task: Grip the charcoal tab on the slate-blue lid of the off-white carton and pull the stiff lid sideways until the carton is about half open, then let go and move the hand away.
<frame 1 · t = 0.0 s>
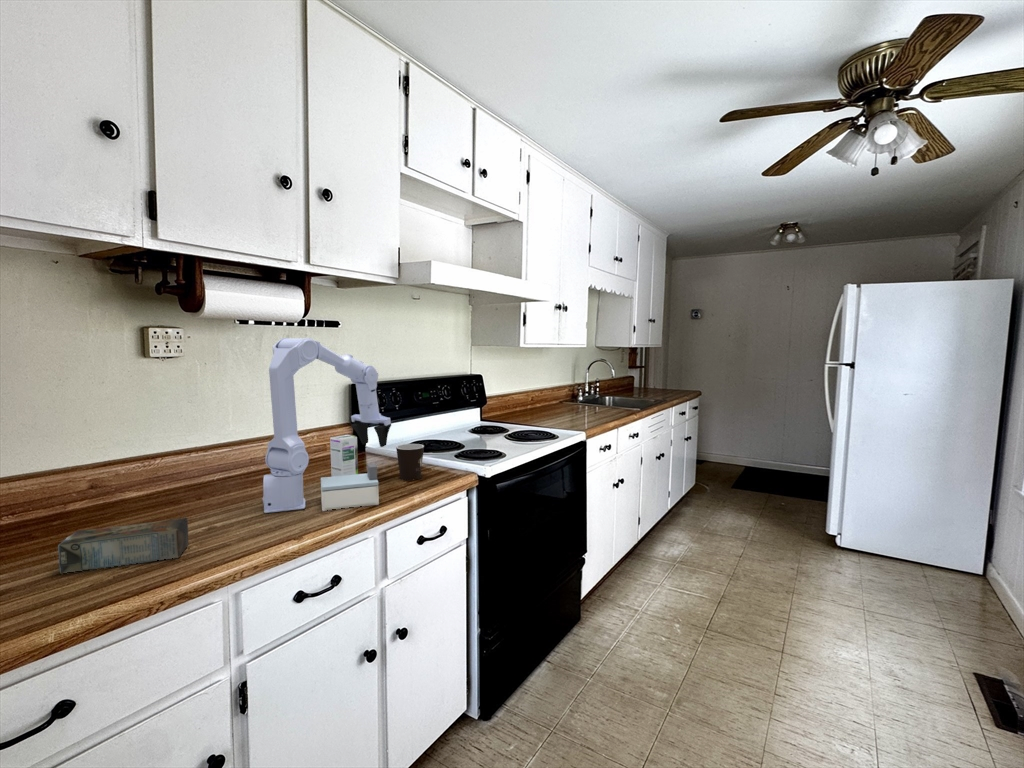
hand: (374, 444, 155), 11 cm above the countertop, tool pointing down, fingers open, 7 cm apart
syrup box: (344, 483, 149), on the countertop
beverage carton: (129, 560, 97), on the countertop
coffee mug: (413, 477, 157), on the countertop
carton lid: (349, 474, 131), point 7 cm above the countertop, slide at 0.0 cm
carton: (349, 501, 132), on the countertop
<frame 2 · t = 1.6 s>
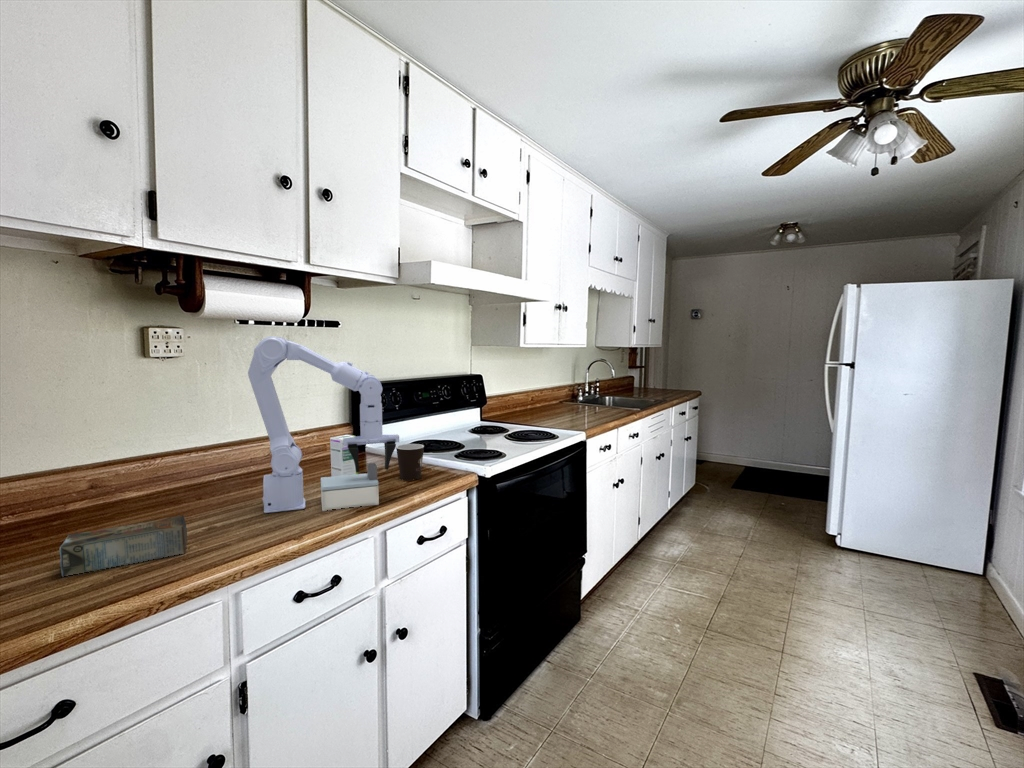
hand: (372, 470, 133), 8 cm above the countertop, tool pointing down, fingers open, 7 cm apart
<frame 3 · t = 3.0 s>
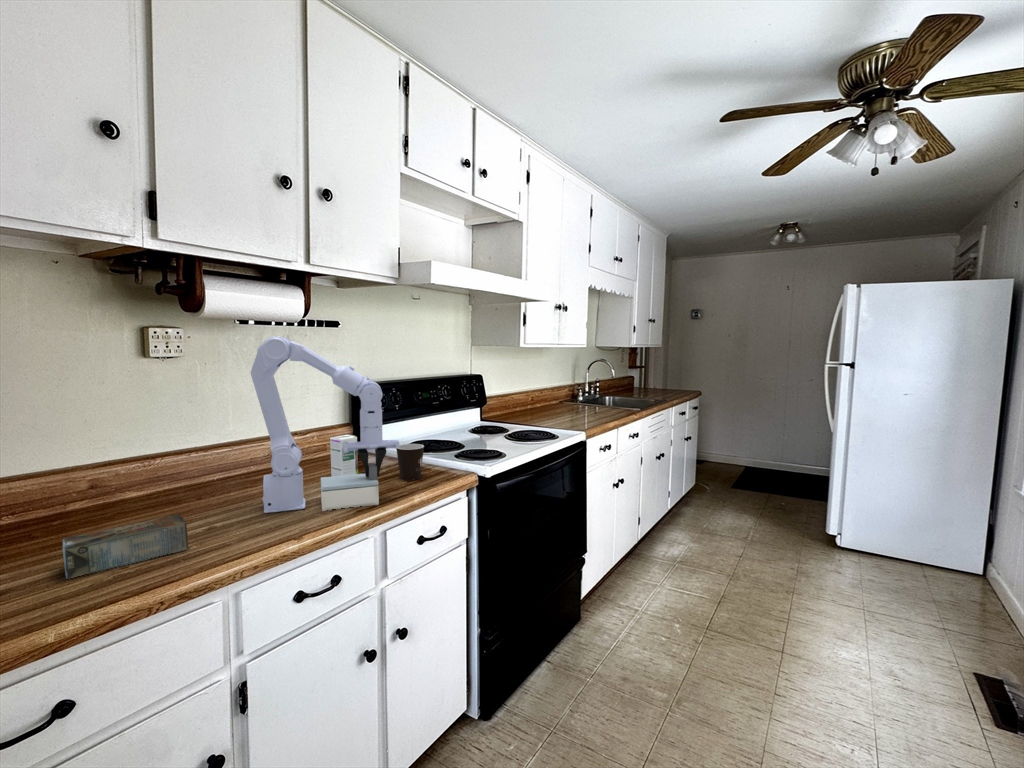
hand: (372, 475, 133), 7 cm above the countertop, tool pointing down, fingers closed on carton lid, 2 cm apart
carton lid: (349, 474, 131), point 7 cm above the countertop, slide at 0.0 cm, touching gripper
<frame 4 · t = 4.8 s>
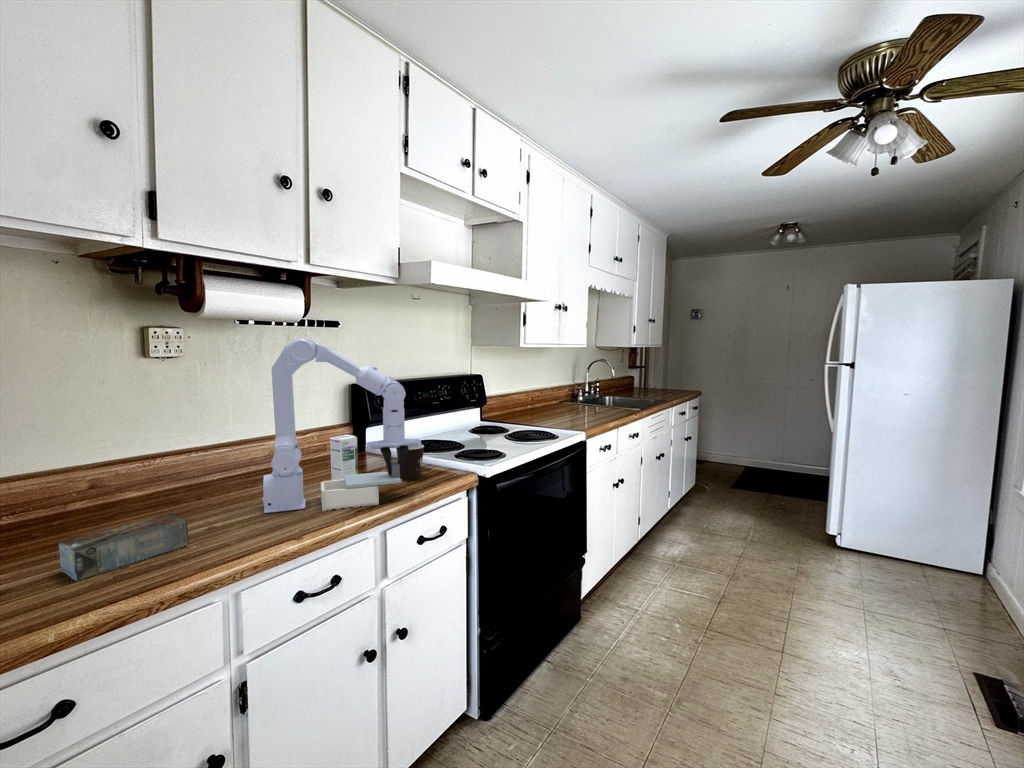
hand: (394, 473, 136), 7 cm above the countertop, tool pointing down, fingers closed on carton lid, 2 cm apart
carton lid: (372, 472, 133), point 7 cm above the countertop, slide at 6.0 cm, touching gripper
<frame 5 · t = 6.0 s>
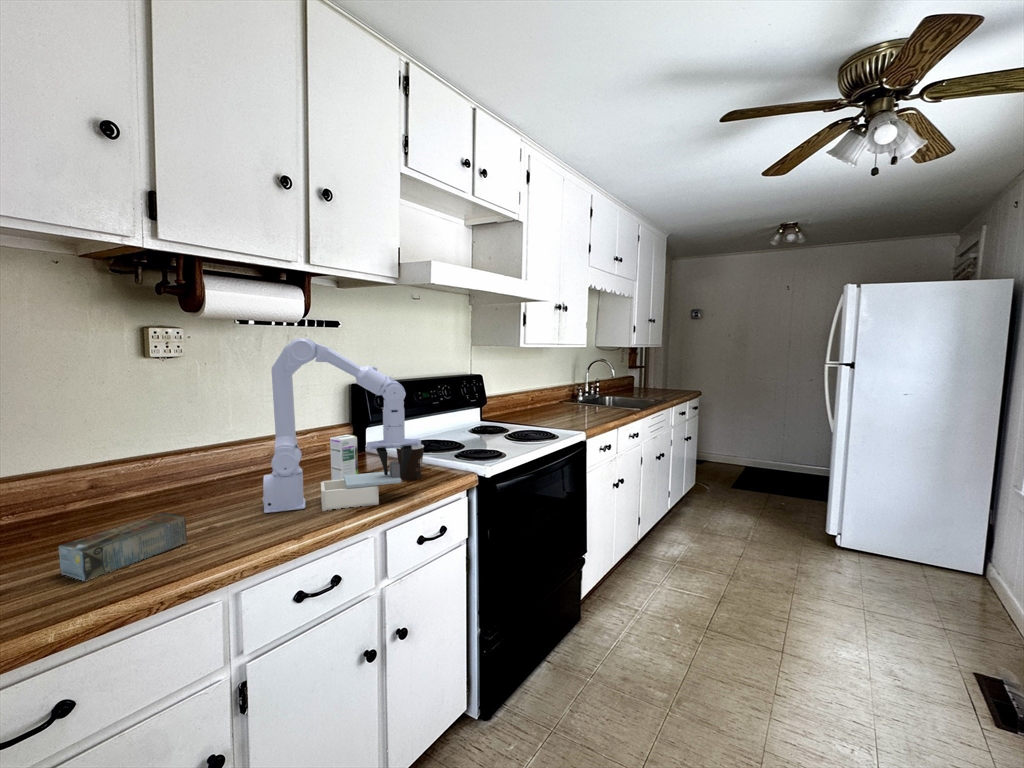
hand: (394, 473, 136), 7 cm above the countertop, tool pointing down, fingers open, 4 cm apart
carton lid: (372, 472, 133), point 7 cm above the countertop, slide at 6.0 cm
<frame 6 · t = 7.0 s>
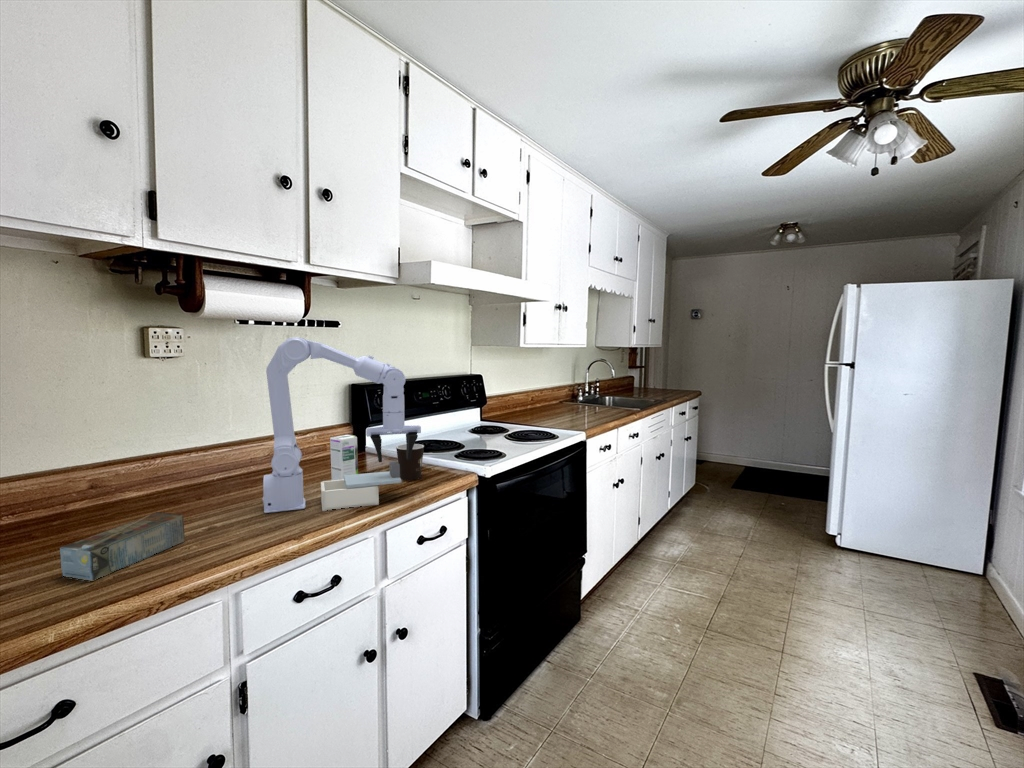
hand: (394, 460, 135), 10 cm above the countertop, tool pointing down, fingers open, 7 cm apart
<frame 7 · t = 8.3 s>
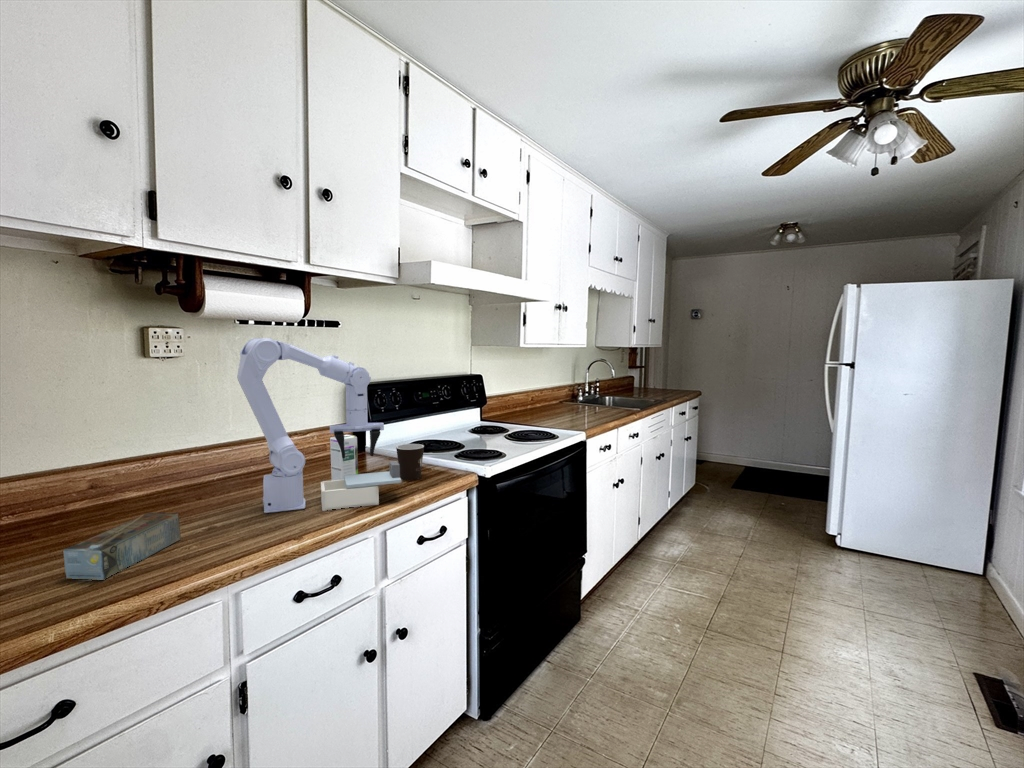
hand: (357, 456, 139), 10 cm above the countertop, tool pointing down, fingers open, 7 cm apart
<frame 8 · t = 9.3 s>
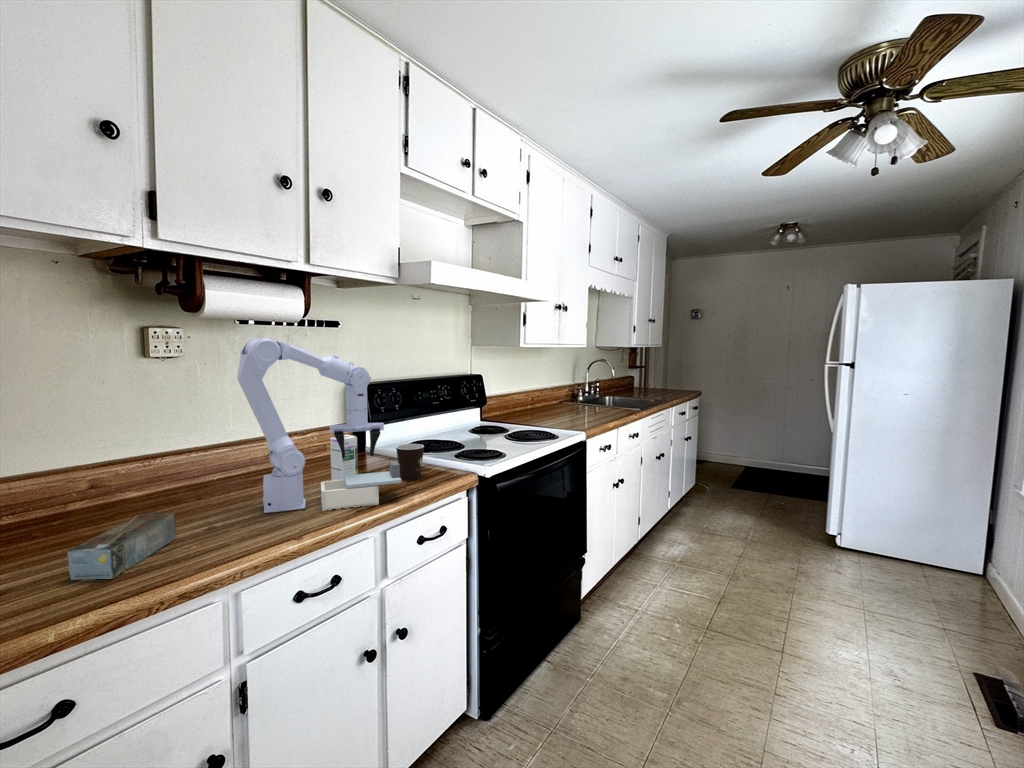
hand: (357, 456, 139), 10 cm above the countertop, tool pointing down, fingers open, 7 cm apart
at the end: carton lid slide at 6.0 cm; syrup box moved 0.2 cm from its start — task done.
